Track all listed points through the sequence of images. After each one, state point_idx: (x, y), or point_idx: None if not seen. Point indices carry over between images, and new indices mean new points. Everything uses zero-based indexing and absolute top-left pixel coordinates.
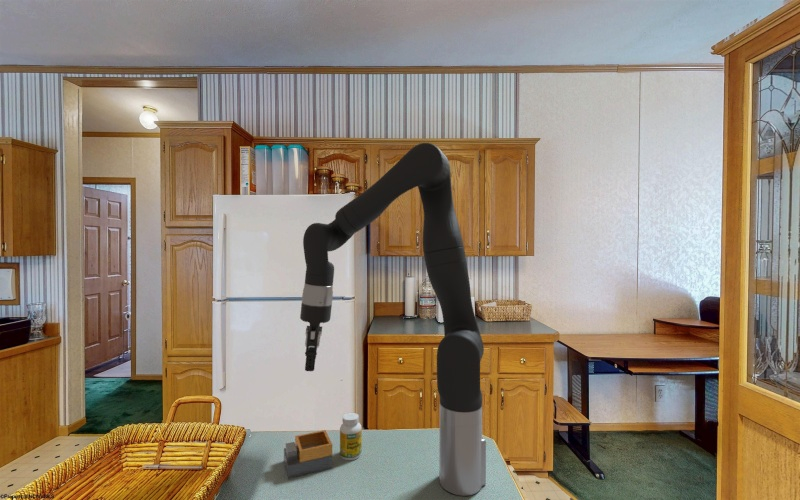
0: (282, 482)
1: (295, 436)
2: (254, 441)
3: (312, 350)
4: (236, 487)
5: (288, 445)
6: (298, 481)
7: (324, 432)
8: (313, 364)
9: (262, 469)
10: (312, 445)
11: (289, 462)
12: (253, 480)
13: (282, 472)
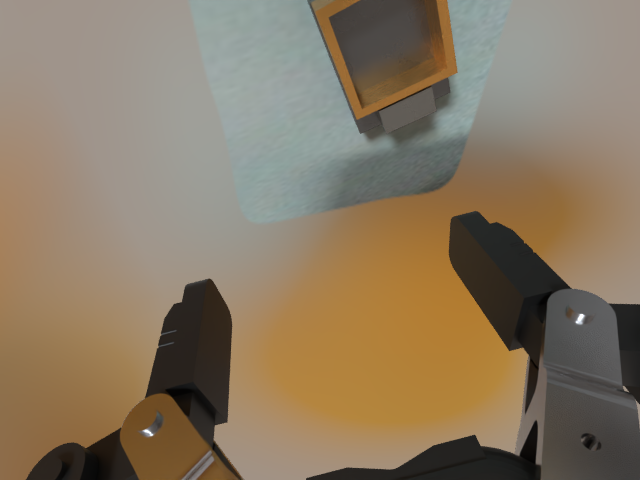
0: None
1: (360, 117)
2: (265, 216)
3: (216, 355)
4: (438, 176)
5: (398, 121)
6: None
7: (336, 10)
8: (502, 245)
9: (383, 153)
10: (349, 46)
11: (436, 92)
12: (422, 155)
13: None
